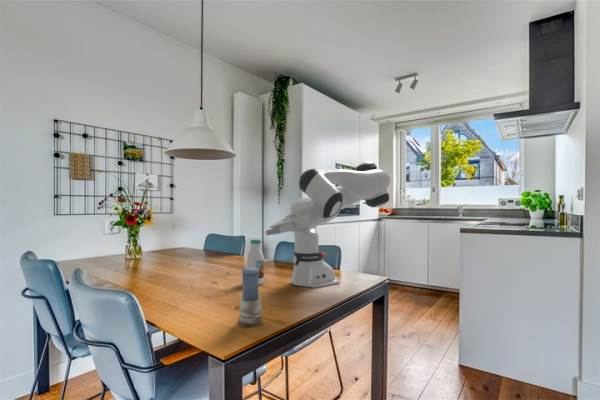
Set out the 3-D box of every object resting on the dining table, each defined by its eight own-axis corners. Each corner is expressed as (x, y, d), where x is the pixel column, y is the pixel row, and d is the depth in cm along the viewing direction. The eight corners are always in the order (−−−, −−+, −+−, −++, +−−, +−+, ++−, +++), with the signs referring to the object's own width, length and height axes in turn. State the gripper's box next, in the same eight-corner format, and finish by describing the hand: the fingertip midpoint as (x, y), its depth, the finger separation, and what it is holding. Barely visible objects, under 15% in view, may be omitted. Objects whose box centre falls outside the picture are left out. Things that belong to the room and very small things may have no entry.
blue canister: (256, 295, 97) (256, 266, 97) (261, 300, 92) (261, 270, 92) (240, 297, 95) (240, 268, 95) (243, 302, 90) (243, 271, 90)
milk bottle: (249, 286, 135) (249, 240, 135) (245, 281, 142) (245, 238, 142) (266, 284, 138) (266, 239, 138) (261, 280, 145) (261, 238, 145)
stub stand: (258, 317, 98) (258, 294, 98) (264, 325, 92) (264, 300, 92) (237, 320, 95) (237, 296, 95) (241, 328, 89) (241, 303, 89)
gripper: (324, 223, 104) (293, 237, 96) (291, 231, 120) (262, 243, 112) (318, 206, 104) (286, 218, 96) (286, 216, 120) (256, 227, 112)
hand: (273, 231), depth 104 cm, fingers open, 8 cm apart
